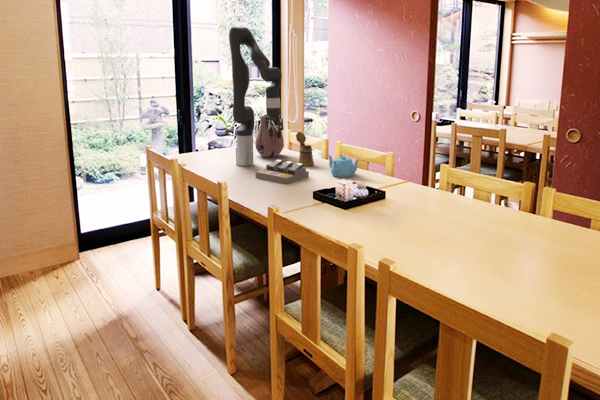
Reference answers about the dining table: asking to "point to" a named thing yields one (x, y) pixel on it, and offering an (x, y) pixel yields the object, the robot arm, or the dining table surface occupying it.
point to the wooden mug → (304, 151)
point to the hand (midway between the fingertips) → (275, 137)
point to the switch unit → (282, 174)
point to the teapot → (342, 166)
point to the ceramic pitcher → (268, 140)
